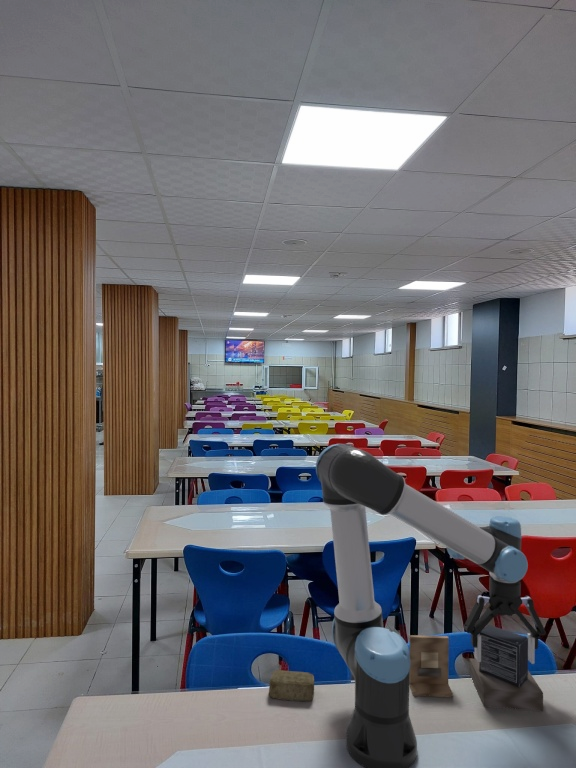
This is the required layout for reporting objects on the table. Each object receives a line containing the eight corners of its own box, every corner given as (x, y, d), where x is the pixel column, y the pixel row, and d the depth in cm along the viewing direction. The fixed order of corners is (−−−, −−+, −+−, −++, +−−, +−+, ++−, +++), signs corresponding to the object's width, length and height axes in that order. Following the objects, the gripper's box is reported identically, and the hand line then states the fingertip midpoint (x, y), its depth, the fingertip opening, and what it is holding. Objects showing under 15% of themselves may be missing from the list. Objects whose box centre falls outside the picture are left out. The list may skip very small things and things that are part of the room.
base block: (483, 708, 125) (483, 688, 125) (469, 676, 139) (469, 658, 139) (542, 713, 123) (543, 692, 123) (522, 680, 137) (522, 661, 137)
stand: (413, 695, 129) (413, 644, 129) (408, 682, 135) (408, 633, 135) (452, 697, 128) (453, 645, 128) (446, 683, 134) (446, 634, 134)
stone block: (313, 703, 125) (313, 683, 125) (267, 700, 126) (268, 680, 126) (314, 690, 131) (314, 670, 131) (270, 687, 132) (271, 668, 132)
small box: (529, 678, 130) (529, 637, 130) (519, 688, 125) (520, 645, 125) (488, 661, 137) (488, 623, 137) (478, 671, 132) (478, 631, 132)
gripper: (460, 582, 128) (460, 666, 128) (561, 585, 127) (560, 669, 127) (452, 571, 135) (451, 651, 135) (546, 574, 134) (546, 653, 134)
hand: (504, 660), depth 131 cm, fingers open, 13 cm apart
